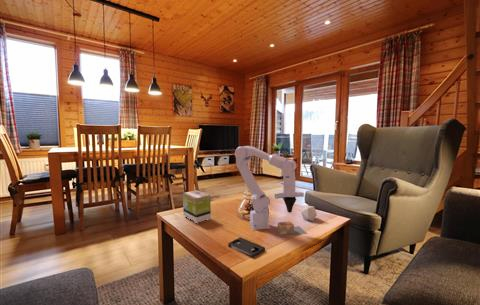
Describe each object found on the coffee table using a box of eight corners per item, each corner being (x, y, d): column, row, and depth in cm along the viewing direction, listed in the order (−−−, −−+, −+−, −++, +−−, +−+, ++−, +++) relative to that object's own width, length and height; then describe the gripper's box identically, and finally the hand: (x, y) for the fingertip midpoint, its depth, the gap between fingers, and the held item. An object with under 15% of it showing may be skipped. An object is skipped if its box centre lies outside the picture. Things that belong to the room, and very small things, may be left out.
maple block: (293, 232, 113) (280, 234, 111) (290, 229, 117) (277, 230, 115) (294, 224, 112) (280, 225, 111) (290, 221, 116) (277, 222, 115)
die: (309, 225, 124) (320, 211, 124) (296, 214, 129) (306, 200, 128) (311, 225, 132) (321, 211, 131) (298, 215, 136) (308, 202, 136)
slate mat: (280, 237, 109) (280, 236, 109) (273, 229, 118) (273, 228, 117) (307, 234, 112) (307, 233, 112) (299, 226, 120) (299, 226, 120)
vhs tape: (227, 247, 100) (227, 243, 100) (240, 241, 106) (240, 237, 106) (252, 259, 91) (252, 254, 91) (264, 252, 97) (264, 247, 96)
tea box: (182, 216, 136) (182, 192, 135) (197, 212, 143) (196, 189, 142) (196, 224, 125) (195, 197, 124) (211, 219, 132) (211, 194, 130)
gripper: (278, 187, 107) (278, 216, 108) (306, 185, 110) (306, 213, 111) (273, 184, 114) (273, 211, 115) (300, 182, 117) (300, 208, 118)
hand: (289, 211), depth 113 cm, fingers closed
